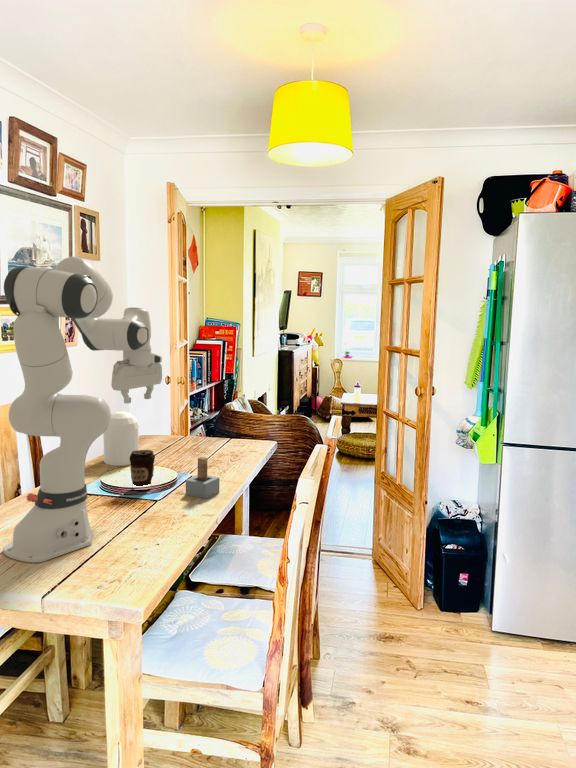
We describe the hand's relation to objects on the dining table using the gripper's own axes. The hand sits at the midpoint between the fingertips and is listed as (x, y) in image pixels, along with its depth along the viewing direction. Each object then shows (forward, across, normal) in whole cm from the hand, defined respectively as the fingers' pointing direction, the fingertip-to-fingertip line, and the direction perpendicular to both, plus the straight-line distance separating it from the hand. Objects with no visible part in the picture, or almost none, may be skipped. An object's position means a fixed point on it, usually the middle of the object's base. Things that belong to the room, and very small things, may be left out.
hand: (137, 401), depth 189 cm
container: (+31, +26, +32) cm, 52 cm away
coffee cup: (+31, +4, +2) cm, 32 cm away
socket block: (+31, +11, -18) cm, 38 cm away
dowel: (+31, +11, -18) cm, 37 cm away
